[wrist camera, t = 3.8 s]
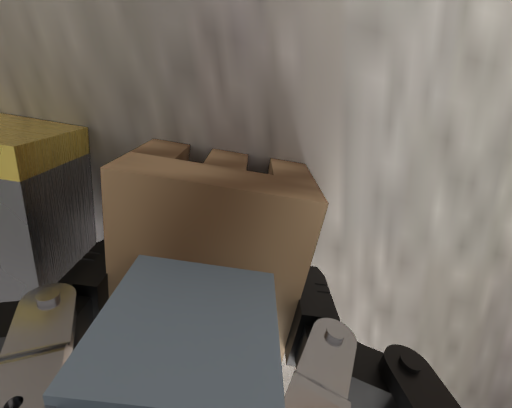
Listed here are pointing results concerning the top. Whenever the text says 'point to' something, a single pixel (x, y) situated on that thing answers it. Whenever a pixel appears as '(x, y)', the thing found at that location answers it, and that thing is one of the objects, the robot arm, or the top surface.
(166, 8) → the top surface
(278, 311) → the pallet
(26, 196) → the dock
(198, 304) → the blue-grey cube
